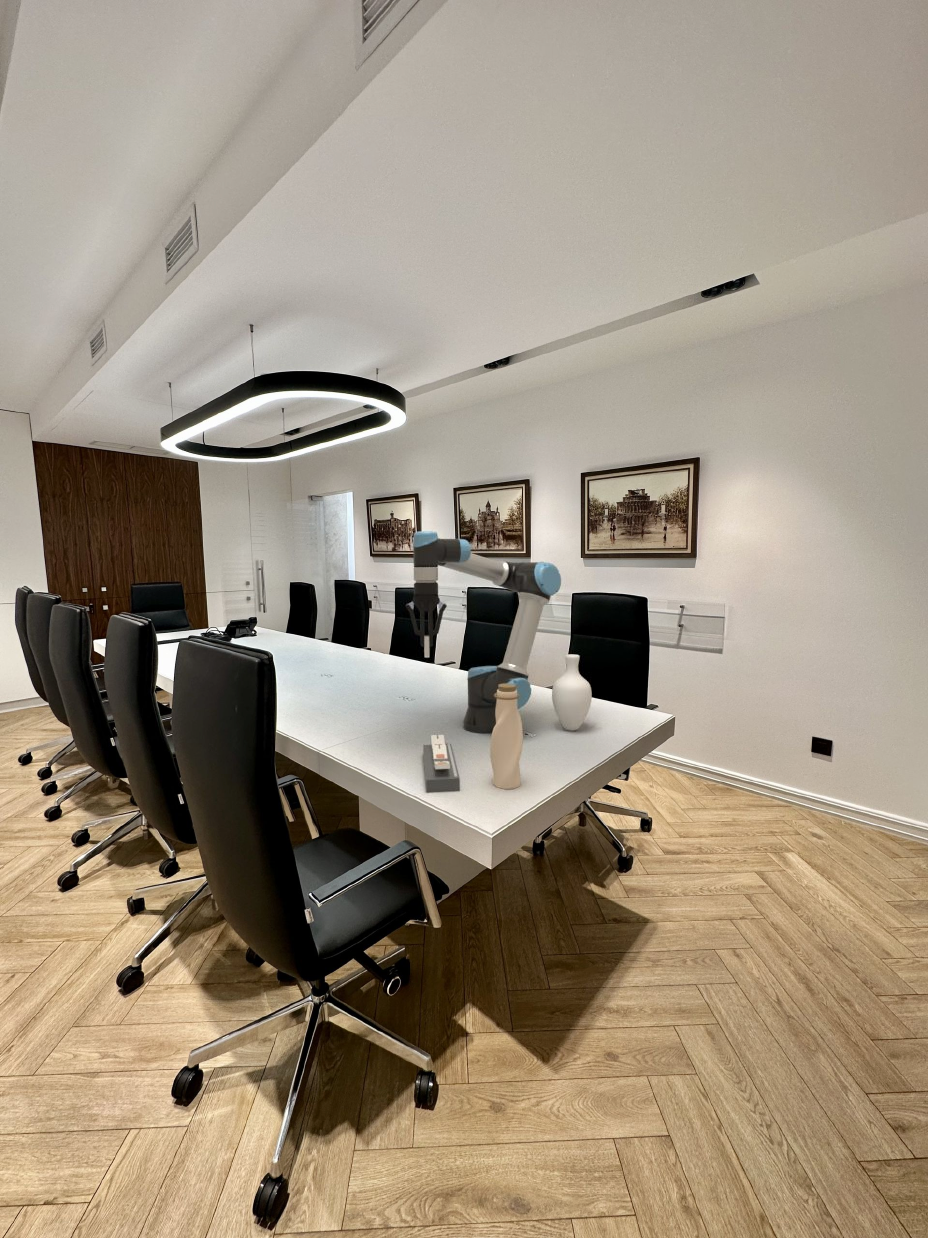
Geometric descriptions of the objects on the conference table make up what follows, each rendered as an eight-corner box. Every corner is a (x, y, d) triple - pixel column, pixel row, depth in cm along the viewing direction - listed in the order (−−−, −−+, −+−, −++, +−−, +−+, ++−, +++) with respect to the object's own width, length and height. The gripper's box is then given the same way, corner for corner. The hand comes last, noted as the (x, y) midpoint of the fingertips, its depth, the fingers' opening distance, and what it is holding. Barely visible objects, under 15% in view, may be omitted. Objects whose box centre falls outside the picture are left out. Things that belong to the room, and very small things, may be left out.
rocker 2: (445, 748, 158) (445, 744, 158) (447, 762, 152) (447, 757, 151) (432, 749, 158) (432, 744, 157) (433, 763, 151) (433, 758, 151)
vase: (585, 723, 202) (586, 651, 199) (595, 735, 187) (597, 658, 184) (548, 724, 201) (549, 652, 198) (555, 736, 187) (556, 658, 184)
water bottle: (487, 775, 152) (487, 681, 149) (518, 774, 153) (518, 680, 150) (492, 790, 142) (492, 689, 139) (525, 789, 143) (525, 688, 140)
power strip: (449, 745, 178) (448, 734, 178) (459, 790, 142) (459, 777, 141) (422, 746, 177) (422, 735, 177) (426, 792, 141) (426, 779, 140)
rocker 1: (443, 738, 167) (443, 734, 167) (445, 751, 161) (445, 747, 160) (431, 739, 167) (431, 735, 166) (432, 752, 160) (432, 748, 160)
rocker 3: (448, 766, 149) (447, 760, 150) (450, 768, 142) (449, 762, 143) (434, 766, 149) (434, 761, 149) (435, 769, 142) (435, 763, 142)
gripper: (445, 581, 166) (446, 654, 169) (404, 581, 165) (406, 655, 167) (447, 581, 159) (448, 658, 161) (404, 582, 158) (406, 659, 160)
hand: (426, 656), depth 164 cm, fingers closed
